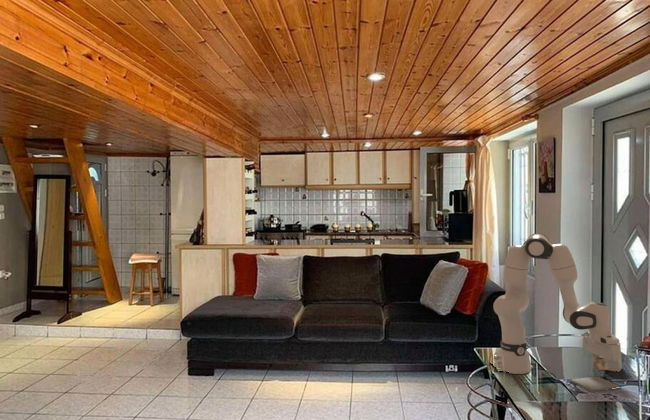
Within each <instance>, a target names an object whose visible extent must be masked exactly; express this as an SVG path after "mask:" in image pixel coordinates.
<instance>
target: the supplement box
mask: <svg viewBox="0 0 650 420" xmlns="http://www.w3.org/2000/svg"><path fill="white" fill-rule="evenodd" d="M618 345H619V348H620V359H619V361H611V360H610V362H609V363H608V364H609V369H608V370H607V371H611V372H616V371H617V372H620V371H621V370H622V369H623V365H622V349H621V342H619V344H618ZM617 372H616V373H617Z"/></svg>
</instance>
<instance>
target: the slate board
mask: <svg viewBox="0 0 650 420" xmlns="http://www.w3.org/2000/svg"><path fill="white" fill-rule="evenodd" d="M570 382H571V383H572V384H575V385H577V386H578V387H581V388H583V389H585V390H587V391H590V392H591V391H592V393H595V391H597V392H602V391H601V390H605V391H607V390H606V389H612V388H616V387H620V388H621V385H619V384H616V383H613V382H612V381H609V380H606V379H605V378H602V377H601V376H596V375H595V376H587V377H581V378H580V377H579V378H572V379H570Z"/></svg>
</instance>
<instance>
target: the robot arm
mask: <svg viewBox="0 0 650 420" xmlns="http://www.w3.org/2000/svg"><path fill="white" fill-rule="evenodd" d="M532 258H533V259H538V260H547V261H548V264H549V269H550V271H551V274H552V276H553V279H554V280H555V282H556V284H557V287H559V291H560V296H561V298H562V302H563V309H562V317H563V319H564V321H566V322H565V323H568V324H569V325H570V326H572V327H573V328H574V329H577V330H588V331H585V332H584V333H583V337H582V343H581V344H582V345H581V346H582V349H583V351H586V352H588V353H590V355H591V357H592V359H593V357H597V356H601V357H603V358H604V360H605V362H604V363H603V366H604V367H608V363H609V362H610V360H611V361H619V359H620V348H619V345H618V344H619V343H620V339H619V338H618V337H616V336H615V335H614V334H613V333H611V328H610V322H611V316H610V315H611V314H610V309H609V306H607V305H606V304H605V303H603V302H601V301H590V302H588V303H587V304H585V305H582V306H581V305H580V304H579V302H578V300H577V295H576V292H575V288H574V284H575V283H576V281H577V280H578V271H577V265H576V264H575V263H576V262H575V260H574V257H573V255H572V253H571V251H570V249H569V247H568V246H567V245H565V244H564V243H563V244H562V243H556V244H552V243H551V242H550V239H549V238H548V237H547V236H546V235H545V234H542V233H540V232H537V233H536V232H535V233H533V234H531V235H529V236H528V238H527V239H526V240H525V241H524V242H523V244H514V245H512V246H510V247H509V248H508V250H507V254H506V257H505V261H504V262H505V263H504V271H503V278H502V279H503V283H504V285H505V286H504V287H505V294H503V295H502V294H501V295H500V296H498V297H497V298H496V299H495V300H494V302H493V305H492V306H493V312H494V313H495V314H496V315H497V316H498V319H499V323H500V326H501V340H499V343H500V348H499V349H498V350H496V351H495V352H494V355H493V360H494V361H495V362H496V363H497V364H498V368H501V369H498V370H502V371H506V372H509V373H508V374H513V375H515V374H516V375H517V374H518V375H522V374H528V373H530V372H532V369H533V365H532V364H531V359H530V353H529V351H527V350H528V345H527V342H526V329H525V325H524V324H523V322H522V320H521V315H520V313H523V312H525V311H526V309H528V307H529V305H530V298H529V296H528V287H527V281H528V280H527V279H528V272H529V266H530V261H531V259H532ZM506 372H505V373H506Z"/></svg>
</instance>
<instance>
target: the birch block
mask: <svg viewBox="0 0 650 420" xmlns="http://www.w3.org/2000/svg"><path fill="white" fill-rule="evenodd" d="M596 356H597V357H593V358H592V364H593V365H592V366H593V368H594V369H596V370H599V371H609V370H608V369H609V364H608V367H604V366H603V363H604V362H605V360H604V358H603V357H601V356H598V355H596Z"/></svg>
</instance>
